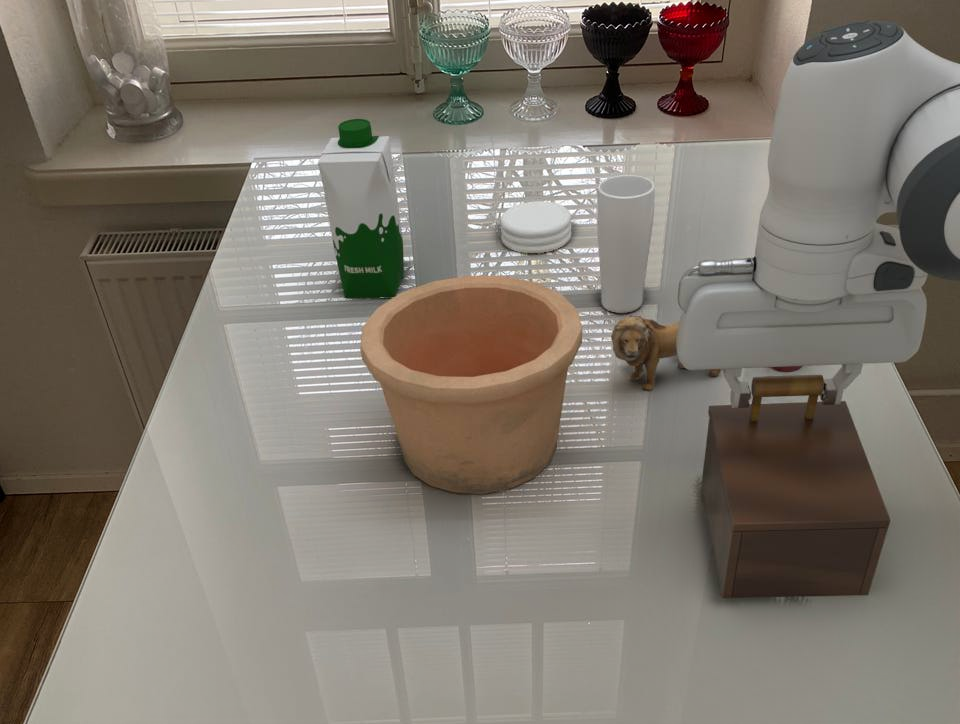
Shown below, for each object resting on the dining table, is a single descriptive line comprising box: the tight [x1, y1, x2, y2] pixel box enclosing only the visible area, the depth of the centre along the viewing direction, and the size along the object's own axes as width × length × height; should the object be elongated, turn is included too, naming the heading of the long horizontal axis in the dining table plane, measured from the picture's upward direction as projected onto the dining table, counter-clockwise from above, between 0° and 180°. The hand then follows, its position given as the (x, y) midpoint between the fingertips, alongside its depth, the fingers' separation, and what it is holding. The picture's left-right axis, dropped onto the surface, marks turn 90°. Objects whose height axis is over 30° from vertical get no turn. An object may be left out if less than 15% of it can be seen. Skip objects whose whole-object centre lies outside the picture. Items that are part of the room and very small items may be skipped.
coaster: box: [500, 200, 572, 254], centre depth 140 cm, size 10×10×4 cm
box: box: [700, 417, 889, 599], centre depth 91 cm, size 17×13×9 cm
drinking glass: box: [596, 174, 655, 314], centre depth 122 cm, size 7×7×15 cm
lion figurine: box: [610, 315, 721, 392], centre depth 111 cm, size 15×5×9 cm, turn 113°
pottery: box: [359, 275, 583, 495], centre depth 102 cm, size 22×22×14 cm
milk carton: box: [317, 118, 405, 299], centre depth 128 cm, size 9×9×20 cm
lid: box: [707, 374, 891, 531], centre depth 86 cm, size 17×13×5 cm
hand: (784, 403), depth 90 cm, fingers open, 7 cm apart
